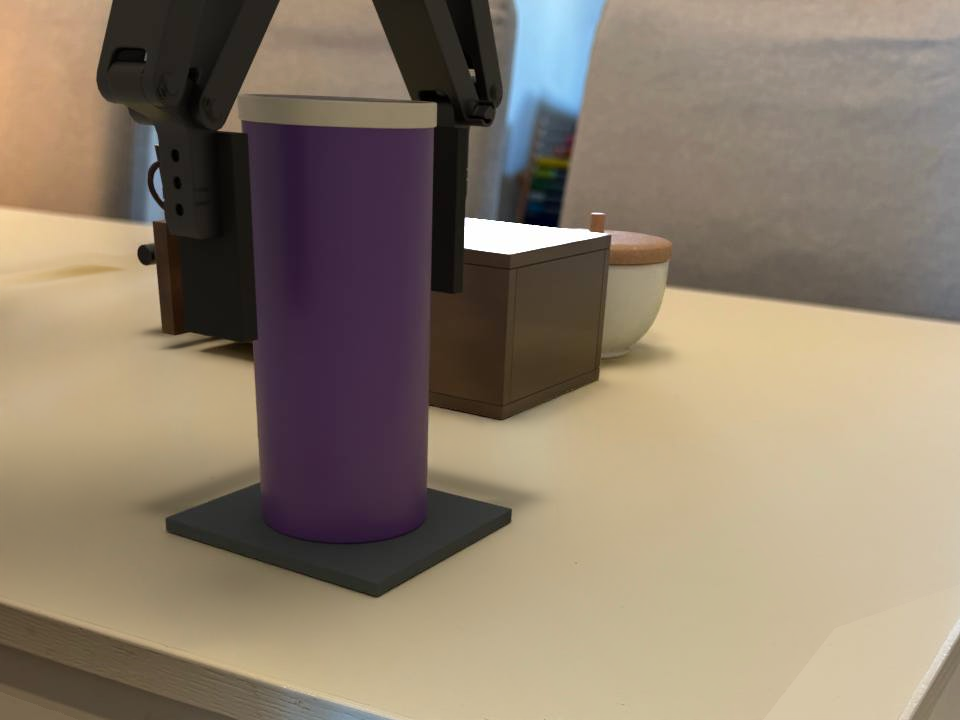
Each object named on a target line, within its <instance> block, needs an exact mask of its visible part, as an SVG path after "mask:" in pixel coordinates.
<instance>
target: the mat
mask: <svg viewBox="0 0 960 720" xmlns="http://www.w3.org/2000/svg"><path fill="white" fill-rule="evenodd" d="M512 512H513V509H512V508H510V507H506V506H502V505H498V504H494V503H490V502H486V501H483V500H478V499H474V498H470V497H466V496H462V495H458V494H454V493H451V492H446V491H442V490H439V489H434V488H432V487H431V488H430V487H427V516H426V518H425V520H424V522H423V523H422V524H421V525H420V526H419V527H418V528H416V529H414V530H413V531H411V532H409V533H406V534H404V535H401V536H398V537H395V538H391V539H386V540H381V541H375V542H367V543H351V544H338V543H321V542H314V541H307V540H302V539H298V538H294V537H291V536H288V535H285V534H282V533H280V532H278V531H276V530H274V529H272V528H271V527H270V526H269V525H267V524H266V522H265V521H264V519H263V516H262V504H261V485H260V481H259V482H257V483H254V484H251V485H248V486H247V487H246V486H245V487H243V488H241V489H238V490H236V491H232V492H230V493H227V494H225V495H222V496H219V497H216V498H214V499H211V500H209V501H207V502H203V503H201V504H199V505H196V506H193V507H190V508H188V509H185V510H182V511H180V512H177V513H175V514H174V513H173V514H172V515H169V516H166V517H165V518H164V519H165V520H164V521H165V531H166V532H169V533H172V534H176V535H179V536H182V537H185V538H188V539H191V540H194V541H197V542H201V543H204V544H207V545H211V546H214V547H217V548H219V549H220V548H221V549H223V550H226V551H229V552H232V553H236V554H239V555H241V556H245V557H249V558H252V559H254V560H255V559H256V560H259V561H262V562H264V563H268V564H271V565H274V566H277V567H280V568H284V569H287V570H290V571H293V572H297V573H300V574H303V575H305V576H306V575H307V576H309V577H313V578H316V579H319V580H322V581H325V582H328V583H332V584H335V585H338V586H342V587H345V588H349V589H351V590H353V591H357V592H361V593H363V594H366V595H371V596H373V597H379V596H381V595H382V594H384V593H387V591H389V590H391V589H393V588H395V587H396V586H398V585H400V584H402V583H403V582H406V581H407V580H409V579H411V578H413V577H414V576H416V575H418V574H420V573H421V572H423V571H425V570H427V569H429V568H430V567H432V566H434V565H436V564H437V563H439V562H441V561H443V560H445V559H446V558H448V557H450V556H452V555H454V554H455V553H457V552H459V551H460V550H463V549H464V548H467V547H468V546H470V545H471V544H473V543H475V542H476V541H478V540H480V539H482V538H484V537H486V536H488V535H489V534H491V533H493V532H494V531H496V530H497V529H500V528H502V527H503V526H505V525H507V524H508V523H510V522H511V521H512V515H513V513H512Z"/></svg>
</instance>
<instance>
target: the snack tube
mask: <svg viewBox="0 0 960 720" xmlns="http://www.w3.org/2000/svg"><path fill="white" fill-rule="evenodd" d="M236 103H237V105H236V106H237V118H238V119H239V120H240V124H241V125H240V127H241V133H248V147H249V167H250V188H251V208H252V228H253V248H254V268H255V288H256V308H257V328H258V340H254V341H253V343H252V351H253V353H252V354H253V368H254V369H253V370H254V389H255V405H256V406H255V407H256V426H257V427H256V429H257V445H258V446H257V447H258V462H259V482H260V485H261V504H262V516H263V519H264V521H265V522H266V524H267V525H269V526H270V527H271V528H272V529H274V530H276V531H278V532H280V533H282V534H285V535H288V536H291V537H294V538H298V539H302V540H307V541H314V542H321V543H338V544H351V543H367V542H375V541H381V540H386V539H391V538H395V537H398V536H401V535H404V534H406V533H409V532H411V531H413V530H414V529H416V528H418V527H419V526H420V525H421V524H422V523H423V522H424V520H425V518H426V516H427V488H428V467H429V466H428V465H429V461H428V460H429V458H428V457H429V417H430V416H429V413H430V412H429V410H430V409H429V408H430V406H429V364H430V311H431V259H432V207H433V154H434V127H436V126H437V103H435V102H427V101H414V100H411V99H398V98H380V97H379V98H378V97H359V96H334V95H311V94H310V95H309V94H282V93H281V94H279V93H277V94H275V93H238V96H237V98H236Z"/></svg>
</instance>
